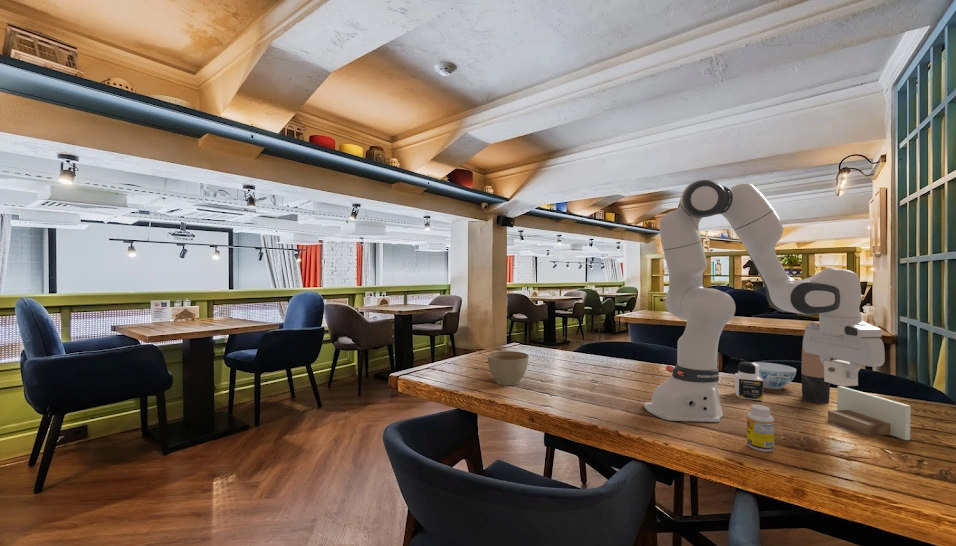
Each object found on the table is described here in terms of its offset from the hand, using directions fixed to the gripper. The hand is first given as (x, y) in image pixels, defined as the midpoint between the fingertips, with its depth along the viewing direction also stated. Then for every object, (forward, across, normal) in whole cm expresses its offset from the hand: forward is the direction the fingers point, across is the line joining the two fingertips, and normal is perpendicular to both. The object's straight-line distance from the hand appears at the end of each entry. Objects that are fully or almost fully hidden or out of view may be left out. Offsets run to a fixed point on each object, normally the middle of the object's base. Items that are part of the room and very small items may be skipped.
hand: (839, 375), depth 114 cm
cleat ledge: (+15, 0, +6) cm, 16 cm away
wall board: (+15, 0, +10) cm, 18 cm away
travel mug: (+15, -23, +16) cm, 32 cm away
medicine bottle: (+15, -29, -4) cm, 33 cm away
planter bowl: (+14, -55, -85) cm, 102 cm away
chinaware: (+15, -39, +14) cm, 45 cm away
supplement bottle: (+15, +9, -32) cm, 37 cm away
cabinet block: (+2, 0, 0) cm, 2 cm away
